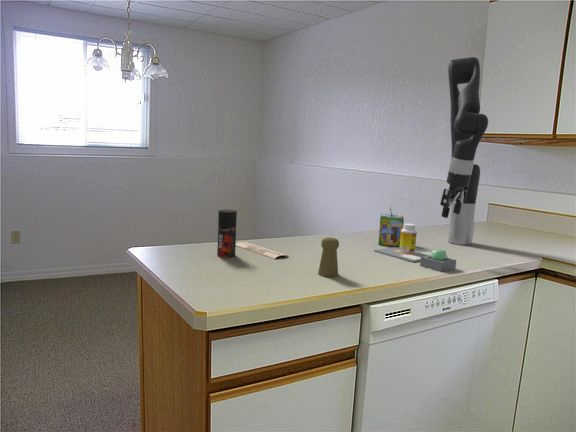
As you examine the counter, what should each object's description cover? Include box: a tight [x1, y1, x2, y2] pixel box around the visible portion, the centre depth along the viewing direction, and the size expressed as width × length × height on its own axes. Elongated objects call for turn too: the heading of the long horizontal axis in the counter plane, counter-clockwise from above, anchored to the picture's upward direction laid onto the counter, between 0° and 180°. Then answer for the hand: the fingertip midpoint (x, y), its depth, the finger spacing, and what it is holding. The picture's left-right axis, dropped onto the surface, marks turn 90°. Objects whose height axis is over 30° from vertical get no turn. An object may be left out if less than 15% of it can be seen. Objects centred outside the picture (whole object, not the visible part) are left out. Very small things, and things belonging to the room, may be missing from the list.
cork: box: [317, 237, 340, 278], centre depth 139 cm, size 6×6×11 cm
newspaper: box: [236, 241, 289, 260], centre depth 165 cm, size 24×7×2 cm, turn 40°
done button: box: [431, 249, 447, 261], centre depth 155 cm, size 4×4×4 cm
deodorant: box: [216, 209, 238, 259], centre depth 156 cm, size 6×6×15 cm
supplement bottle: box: [399, 223, 418, 253], centre depth 172 cm, size 6×6×10 cm
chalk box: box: [378, 207, 405, 247], centre depth 189 cm, size 9×9×15 cm
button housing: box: [419, 255, 457, 273], centre depth 155 cm, size 8×8×3 cm
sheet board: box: [373, 246, 448, 263], centre depth 173 cm, size 19×18×1 cm
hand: (450, 215), depth 168 cm, fingers open, 8 cm apart
